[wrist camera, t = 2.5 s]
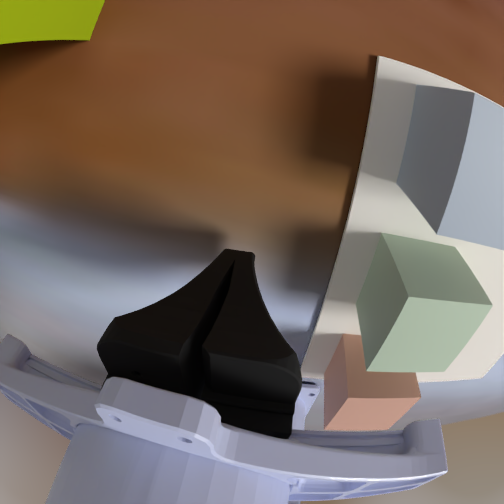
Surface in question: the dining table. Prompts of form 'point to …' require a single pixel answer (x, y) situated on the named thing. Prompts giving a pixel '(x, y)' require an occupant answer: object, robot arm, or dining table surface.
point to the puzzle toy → (47, 19)
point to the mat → (399, 233)
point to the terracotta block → (364, 391)
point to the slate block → (456, 164)
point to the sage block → (418, 306)
